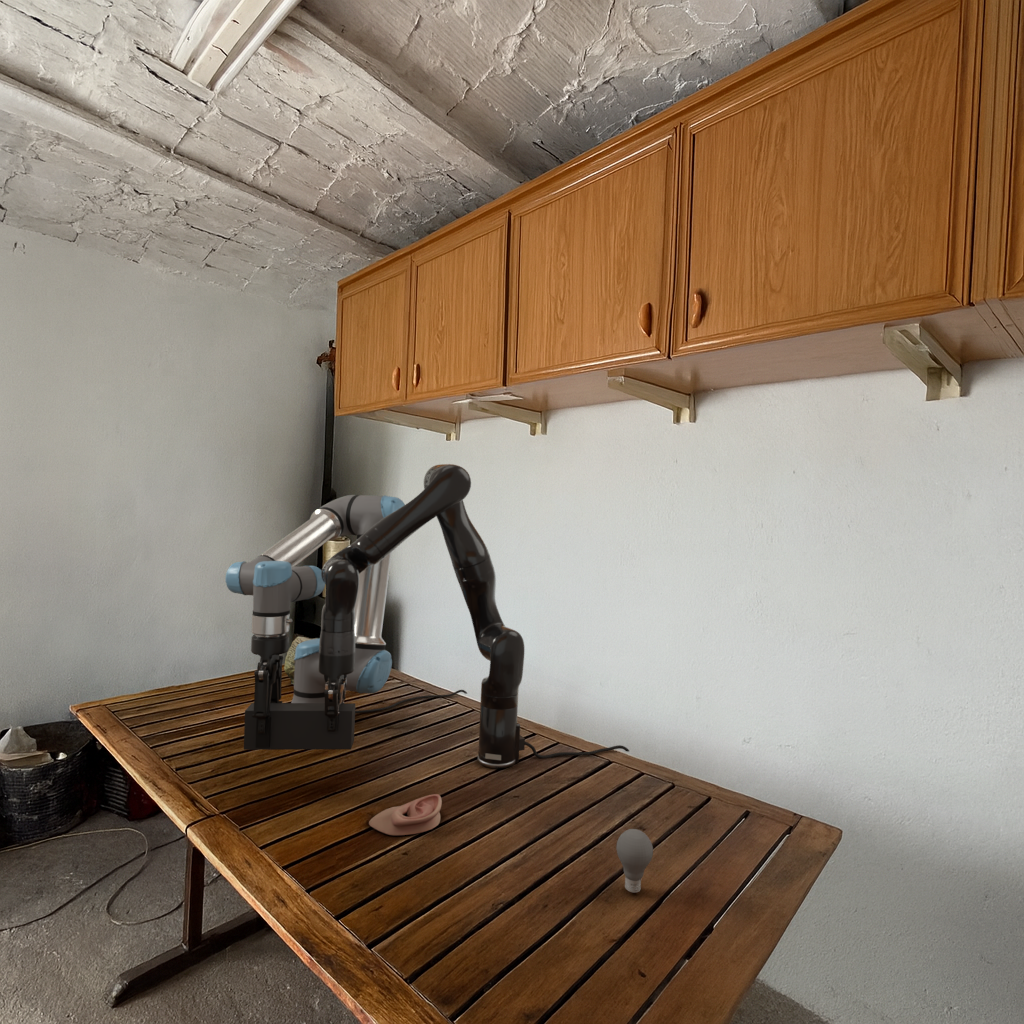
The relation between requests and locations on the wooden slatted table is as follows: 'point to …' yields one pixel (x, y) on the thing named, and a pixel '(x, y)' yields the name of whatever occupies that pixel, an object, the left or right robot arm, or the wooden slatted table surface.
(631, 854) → the light bulb
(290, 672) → the fossil
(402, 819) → the anatomical model
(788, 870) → the wooden slatted table surface
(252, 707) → the bar
